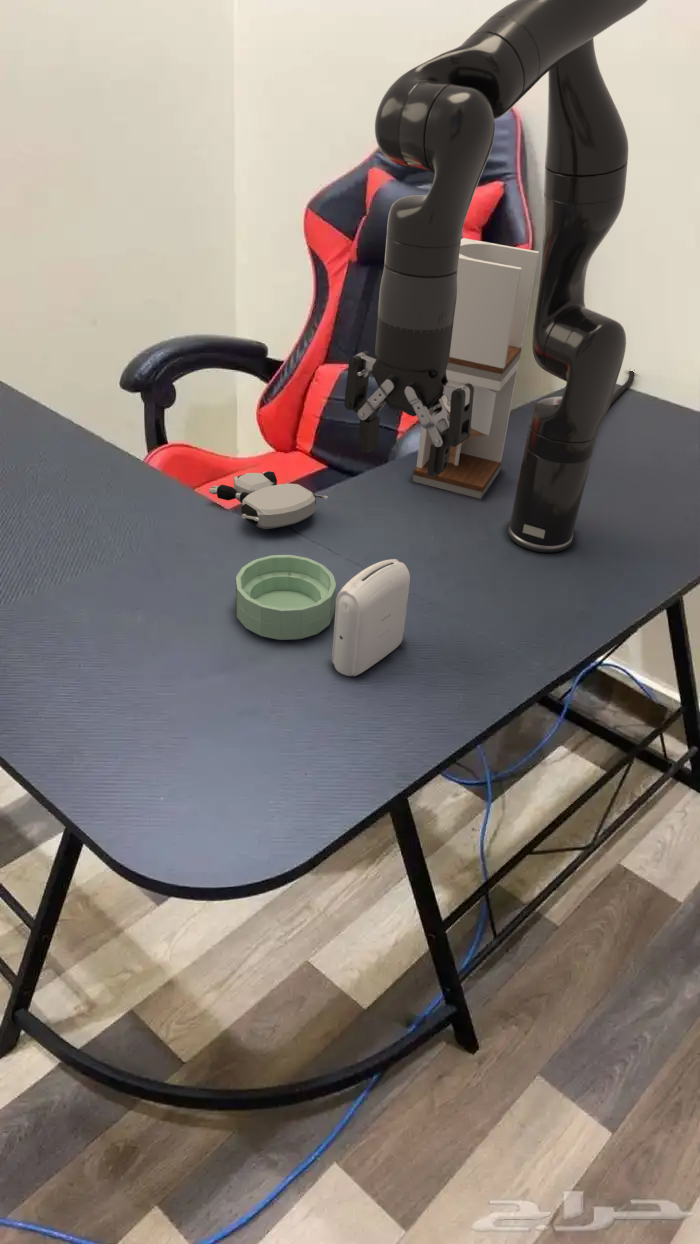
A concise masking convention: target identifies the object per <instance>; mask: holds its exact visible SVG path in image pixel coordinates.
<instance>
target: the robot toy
mask: <svg viewBox="0 0 700 1244" xmlns="http://www.w3.org/2000/svg"><path fill="white" fill-rule="evenodd" d="M208 492H209V493H210V494H211V495H216V497H217V499H219V500H225V501H232V500H235V499H236V500H237V501H238V502H239V503H240V504H242V505H241V507H240V508H241V509H240V511H241V518H242V519H244V520H246V521H247V522H249V523H250V524H252V525H254V526H256V527H257V528H260V529H263V530H269V529H270V530H271V529H276V528H277V529H278V528H282V527H288V526H292V525H295V524H297V523H299V522H302V521H305V520H306V519H307V518H309V517H310V516H312V515H313V514H314V513H315V512H316V504H317V498H318V499H319V498H320V499H324V500H328V499H329V497H328V496H327V495H321V494H315V493H314V492H312V491H311V490H309V488H306V487H304V486H302V485H300V484H299V483H280V484H278V479H277V476H276V473H275V472H274V471H272V470H270V471H263V472H262V473H261V472H244V474H240V475H235V476H234V477H233V486H230V485H226V484H220V485H213V486H211V487H210V488H209V489H208Z"/></svg>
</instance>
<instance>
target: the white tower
mask: <svg viewBox="0 0 700 1244" xmlns="http://www.w3.org/2000/svg"><path fill="white" fill-rule="evenodd" d="M539 255H540V251H538V250H534V249H533V250H532V249H527V248H521V247H515V246H510V245H503V244H499V243H493V242H489V241H481V240H476V239H471V238H466V237H463V238H461V244H460V252H459V261H458V269H457V299H456V307H455V316H454V324H453V332H452V340H451V348H450V356H449V361H448V365H447V369H446V376H447V379H448V383H452V384H456V385H460V386H463V385H464V384H466V383H470V384H472V385H473V387H474V395H473V407H472V419H471V430H470V437H469V438H468V439H466V440H465V441H463V442H462V443H460V444H459V445H457V446H455V447H453V446H451V448H450V455H449V463H448V467H447V468H446V470H444V471H443V472H442V473H440V474H439V475H438V476H436V477H435V478H434V477H431V476H428V474H427V473H428V464H429V456H430V448H431V445H432V444H433V442H432V440H431V438H430V436H429V433H428V431H427V429H425V428H423V427H422V426H420V435H419V442H418V443H419V444H418V451H417V459H416V467H415V468H414V469H413V474H412V482H414V483H417V484H421V485H425V486H429V487H433V488H435V489H436V488H437V489H441V490H444V491H448V492H452V493H456V494H461V495H463V496H467V497H471V498H474V499H475V498H476V499H480V500H482V498H483V497H484V496H485V494H486V492H487V491H488V490H489V488H490V487H491V485H492V483H493V482H494V480H495V479H496V477H497V476H498V475H499V473H500V471H501V465H502V459H503V455H504V454H503V453H504V448H505V442H506V437H507V432H508V427H509V420H510V414H511V409H512V406H513V405H512V404H513V398H514V393H515V387H516V382H517V377H518V371H519V366H520V360H521V354H522V349H523V344H524V343H523V342H524V338H525V333H526V328H527V327H526V326H527V321H528V316H529V311H530V310H529V309H530V304H531V299H532V293H533V287H534V282H535V277H536V272H537V265H538V261H539ZM441 399H442V401H443V403H444V405H445V407H446V410H447V412H448V416H447V419H448V421H450V407H451V406H448V405H447V402H448V400H447V397H446V396H445V395H443V396H442V397H441ZM428 411H429V413H430V415H433V409H432V407H431V408H430V409H429V410H428Z"/></svg>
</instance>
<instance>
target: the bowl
mask: <svg viewBox="0 0 700 1244" xmlns="http://www.w3.org/2000/svg"><path fill="white" fill-rule="evenodd" d="M336 598H337V582H336V579H335V575H334V573H332V572H331V570H330V569H328V568H327V567H326V565H324V564H322V563H320V562H318V561H316V560H313V559H311V558H310V557H304V556H300V555H294V554H271V555H267V556H264V557H259V558H256V559H253V560H251V561H250V562H248V563H247V564H245V565H244V566H241V568H240V570H239V572H238V573H237V575H236V577H235V613H236V619H237V620H239V622H240V623H241V624H242V626H243V627H244V628H245V629H246V630H249V631H250V632H253V633H254V634H256V635H259V636H260V637H264V638H269V639H272V640H273V639H274V640H278V641H280V640H281V641H285V640H302V639H305V638H309V637H312V636H315V635H318V634H320V632H322V631H323V630H325V629H326V628H327V627H329V626H330V624H331V623H332V620H333V618H334V617H335V609H336Z"/></svg>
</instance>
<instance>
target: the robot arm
mask: <svg viewBox="0 0 700 1244" xmlns="http://www.w3.org/2000/svg"><path fill="white" fill-rule="evenodd" d="M647 2H648V0H514V1H513V2H511V3H509V4H507V5H505V6H504V7H502V8H501V9H500V10H498V11H496V12H495V13H494V14H493V15H492V16H490V17H489V18H488V19H487V20H486V21H485V22H484V23H483V24H482V25H480V26H479V28H478V29H476V30H475V31H474V32H473V33H472V34H471V35H470V36H469V37H468V38H466V39H465V41H464V42H463V43H462V44H461V45H459V46H458V47H455V48H453V49H450V50H448V51H445V52H442V53H440V54H438V55H437V56H435V57H432V58H430V59H429V60H428V59H427V60H426V61H425V62H422V63H420V64H418V65H417V66H414V67H413V68H411V69H410V70H407V72H405V73H404V74H401V76H399V77H398V78H397V79H396V80H395V81H394V82H393V83H392V84H391V85H390V87H389V88H388V89H387V91H386V92H385V93H384V95H383V97H382V99H381V100H380V103H379V105H378V107H377V111H376V115H375V119H374V136H375V141H376V144H377V146H378V148H379V150H380V152H381V153H382V155H383V156H384V157H385V158H386V159H388V160H389V161H391V162H392V163H394V164H396V165H399V166H402V167H408V168H412V169H416V170H420V171H424V172H429V173H434V178H433V182H432V185H431V187H430V189H429V191H428V193H427V194H420V195H419V194H418V195H417V194H415V195H408V196H403V197H401V198H398V199H397V200H395V201H394V202H393V203H392V204H391V207H390V209H389V213H388V218H387V223H386V224H387V226H386V237H385V238H386V239H385V249H384V250H385V252H384V264H383V271H382V275H381V280H380V285H379V293H378V294H379V295H378V296H379V297H378V307H377V308H378V309H377V320H376V321H377V322H376V335H375V348H374V354H375V357H376V358H374V357H372V354H371V353H370V351H368V350H364V351H362V352H359V353H357V354H355V355H353V356H352V357H350V358H349V360H348V367H347V374H346V375H347V377H346V384H345V385H346V386H345V394H344V403H343V405H344V408H345V409H346V410H348V411H353V412H355V413H356V414H357V418H358V419H359V427H358V428H359V429H358V430H359V431H358V444H359V446H360V447H361V448H360V449H361V451H362V452H364V453H366V454H370V453H371V452H373V451H374V450H376V449H377V448H378V445H379V436H380V435H379V434H380V421H381V416H379V415H378V413H379V412H380V411H382V409H383V408H384V407H385V406H387V405H388V406H389V407H388V408H389V409H390V410H394V411H401V412H403V413H405V414H406V415H408V416H410V417H417V420H418V422H419V423H420V425H421V426H422V427H423V428H425V429H427V431H428V433H429V436H430V438H431V440H432V442H433V444H432V445H431V448H430V456H429V464H428V473H427V474H428V476H431V477H434V478H435V477H436V476H438V475H439V474H440V473H442V472H443V471H444V470H446V468H447V467H448V463H449V455H450V448H451V446H453V447H455V446H457V445H459V444H460V443H462V442H463V441H465V440H466V439H468V438H469V437H470V430H471V419H472V407H473V395H474V387H473V385H472V384H470V383H466V384H464V385H463V386H460V385H456V384H452V383H448V379H447V376H446V369H447V365H448V361H449V356H450V348H451V340H452V332H453V324H454V316H455V307H456V299H457V269H458V261H459V252H460V244H461V239H462V237H463V235H462V233H463V228H464V225H465V222H466V218H467V216H468V214H469V210H470V207H471V203H472V201H473V198H474V195H475V193H476V190H477V187H478V184H479V183H480V179H481V178H482V174H483V172H484V170H485V167H486V165H487V163H488V160H489V158H490V154H491V152H492V148H493V145H494V142H495V141H494V140H495V135H496V134H495V133H496V121H495V120H497V119H499V118H501V117H503V116H504V115H505V114H507V113H508V112H509V111H510V110H512V109H513V107H514V106H515V105H517V103H518V102H519V101H521V99H522V98H523V97H524V96H525V95H526V94H527V93H528V92H529V91H530V90H531V89H532V88H533V87H534V86H535V85H536V84H537V83H538V82H539V81H540V80H541V79H542V78H543V77H544V76H546V74H547V77H548V78H547V79H548V80H547V81H548V82H547V83H548V86H547V87H548V88H547V124H546V125H547V127H546V143H545V144H546V145H545V146H546V147H545V160H544V180H543V181H544V183H543V184H544V186H543V229H542V230H543V233H542V247H541V265H540V274H539V283H538V291H537V298H536V303H535V304H536V305H535V311H534V319H533V326H532V327H533V328H532V338H531V339H532V341H531V342H532V343H531V344H532V345H531V346H532V354H533V359H534V360H535V362H536V364H537V365H538V367H540V368H541V369H542V370H544V372H547V373H549V374H551V375H552V376H554V377H556V378H558V379H560V380H563V381H564V382H566V383H565V387H564V391H563V394H562V396H551V397H546V398H543V399H540V400H539V401H537V402H536V403H535V404H534V405H533V407H532V411H531V414H530V420H529V425H528V430H527V435H526V440H525V444H524V449H523V450H524V451H523V456H522V461H521V465H520V471H519V476H518V481H517V487H516V491H515V497H514V502H513V506H512V511H511V517H510V521H509V524H508V528H507V534H508V537H509V538H510V539H511V541H512V542H514V543H515V544H517V545H518V546H520V547H522V548H524V549H527V550H530V551H533V552H538V553H559V552H562V551H565V550H566V549H568V548H570V546H571V545H572V543H573V538H574V531H575V527H576V523H577V519H578V515H579V511H580V507H581V503H582V498H583V495H584V492H585V491H584V490H585V486H586V482H587V477H588V474H589V469H590V466H591V461H592V457H593V452H594V448H595V444H596V440H597V436H598V433H599V429H600V426H601V424H602V422H603V420H604V418H605V417H606V415H607V413H608V411H609V409H610V407H611V406H612V405H613V404H614V402H616V400H617V399H618V398H619V397H620V396H621V395H622V394H623V393H624V392H625V391H626V390H627V389H628V388H629V387H630V386H631V385H632V383H633V381H634V378H635V373H634V372H633V371H630V369H629V370H628V374H629V375H628V378H627V380H626V382H625V383H623V384H622V385H621V386H620V387H621V388H620V387H619V388H618V389H617V390H616V391H615V389H616V385H617V382H618V378H619V376H620V373H621V370H622V366H623V363H624V359H625V355H626V347H627V336H626V331H625V329H624V326H623V325H622V324H621V323H620V322H619V321H617V320H615V319H613V318H611V317H609V316H606V315H605V314H601V313H599V312H597V311H595V310H592V309H590V308H588V307H586V303H585V286H586V277H587V271H588V266H589V264H590V261H591V259H592V257H593V255H594V254H595V252H596V251H597V249H598V248H599V246H601V243H602V242H603V241H604V239H605V238H606V237H607V235H608V233H610V230H611V229H612V228H613V226H614V224H615V223H616V220H617V219H618V217H619V215H620V213H621V210H622V209H623V205H624V201H625V195H626V194H625V193H626V184H627V174H628V173H627V172H628V161H629V140H628V134H627V132H626V128H625V125H624V122H623V120H622V118H621V115H620V113H619V110H618V108H617V106H616V104H615V102H614V100H613V98H612V96H611V93H610V91H609V89H608V87H607V85H606V83H605V80H604V78H603V75H602V73H601V69H600V66H599V64H598V60H597V56H596V50H595V44H594V43H595V42H594V38H595V37H597V36H598V35H599V34H601V33H603V32H604V31H606V30H607V29H609V28H610V27H612V26H613V25H615V24H616V23H618V22H619V21H621V20H623V19H624V18H626V17H628V16H630V15H631V14H633V13H634V12H635V11H637V10H638V9H640V8H641V7H642V6H644V4H646V3H647ZM371 375H372V376H373V378H374V380H375V382H376V384H377V389H376V390H375V391H374V393H372V395H371V396H370V397H369V398H368V399H367V395H368V387H369V380H370V376H371ZM623 388H624V389H623ZM443 395H445V396H446V397H447V400H448V402H447V405H448V406H451V407H450V421H448V419H447V416H448V412H447V410H446V407H445V405H444V403H443V401H442V399H441V397H442V396H443ZM431 407H432V409H433V415H430V413H429V411H428V410H429V409H430V408H431ZM421 426H420V427H421Z"/></svg>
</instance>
